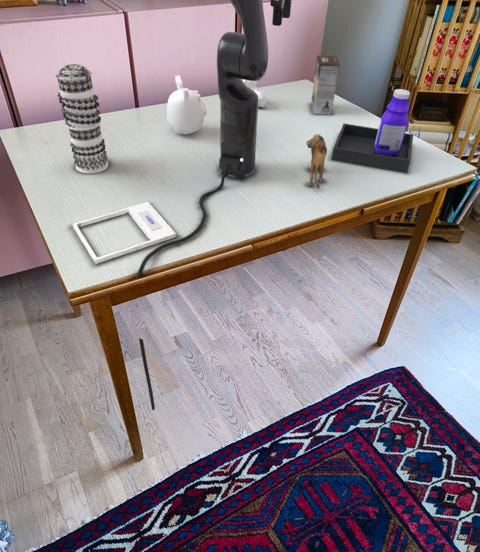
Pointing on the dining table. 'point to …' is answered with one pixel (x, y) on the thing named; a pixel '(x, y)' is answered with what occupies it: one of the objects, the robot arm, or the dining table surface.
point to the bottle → (393, 125)
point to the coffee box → (324, 84)
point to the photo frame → (147, 222)
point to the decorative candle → (82, 118)
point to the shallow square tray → (369, 149)
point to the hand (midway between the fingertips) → (281, 21)
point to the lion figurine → (317, 157)
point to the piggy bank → (185, 109)
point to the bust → (260, 95)
